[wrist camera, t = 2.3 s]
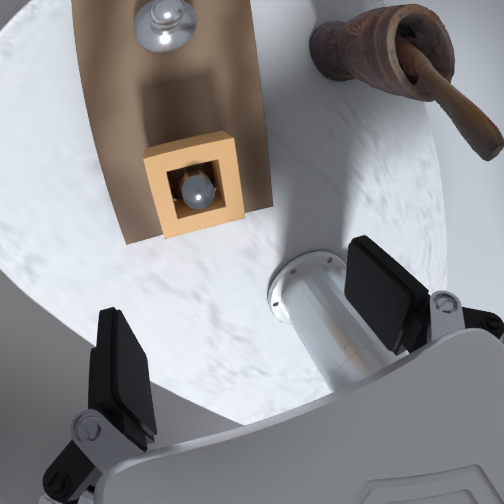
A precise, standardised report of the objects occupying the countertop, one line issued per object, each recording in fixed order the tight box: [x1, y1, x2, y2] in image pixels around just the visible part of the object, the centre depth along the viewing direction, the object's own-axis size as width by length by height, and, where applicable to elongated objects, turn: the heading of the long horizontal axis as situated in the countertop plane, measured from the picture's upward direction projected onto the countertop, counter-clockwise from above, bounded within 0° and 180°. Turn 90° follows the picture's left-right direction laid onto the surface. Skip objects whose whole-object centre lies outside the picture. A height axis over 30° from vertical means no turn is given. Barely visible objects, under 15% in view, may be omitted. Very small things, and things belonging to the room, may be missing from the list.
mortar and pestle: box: [310, 4, 504, 161], centre depth 19 cm, size 12×9×20 cm
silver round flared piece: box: [133, 0, 197, 54], centre depth 16 cm, size 5×5×7 cm
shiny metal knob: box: [167, 161, 216, 209], centre depth 24 cm, size 5×5×7 cm
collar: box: [143, 131, 245, 239], centre depth 24 cm, size 7×7×4 cm
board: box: [71, 0, 273, 245], centre depth 24 cm, size 16×26×2 cm, turn 6°
